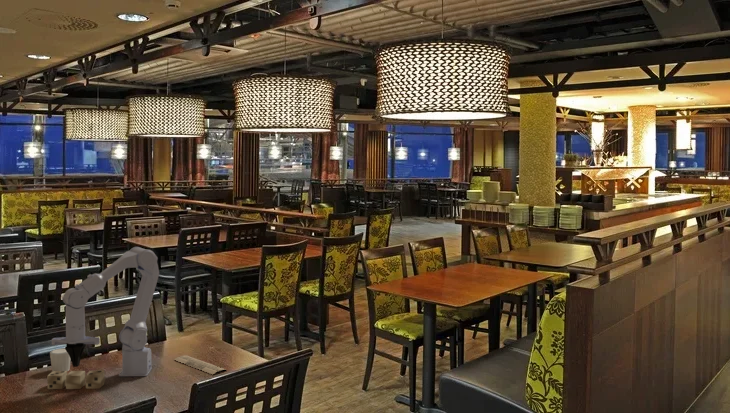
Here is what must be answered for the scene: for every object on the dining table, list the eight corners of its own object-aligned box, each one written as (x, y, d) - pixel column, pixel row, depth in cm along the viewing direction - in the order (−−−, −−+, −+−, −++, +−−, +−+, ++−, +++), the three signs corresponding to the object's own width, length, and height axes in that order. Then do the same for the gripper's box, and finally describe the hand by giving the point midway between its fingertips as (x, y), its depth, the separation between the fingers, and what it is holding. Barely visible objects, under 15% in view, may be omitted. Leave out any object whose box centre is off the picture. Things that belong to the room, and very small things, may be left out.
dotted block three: (67, 384, 206) (67, 370, 206) (61, 389, 202) (61, 375, 201) (53, 384, 206) (52, 370, 206) (47, 389, 201) (47, 375, 201)
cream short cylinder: (63, 374, 215) (62, 354, 215) (45, 372, 217) (45, 352, 216) (75, 367, 222) (75, 348, 221) (59, 366, 223) (58, 347, 223)
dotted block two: (104, 383, 207) (104, 370, 207) (100, 388, 203) (99, 374, 203) (90, 383, 207) (90, 370, 207) (85, 388, 202) (85, 375, 202)
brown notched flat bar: (227, 372, 222) (227, 368, 221) (210, 378, 216) (210, 373, 216) (187, 358, 236) (187, 354, 236) (171, 363, 231) (171, 358, 231)
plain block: (85, 384, 207) (85, 370, 206) (80, 389, 202) (80, 375, 202) (71, 384, 206) (71, 371, 206) (66, 389, 202) (65, 375, 201)
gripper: (47, 328, 198) (48, 370, 199) (94, 328, 200) (94, 369, 201) (56, 322, 205) (57, 363, 206) (101, 322, 207) (102, 362, 208)
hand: (76, 365), depth 204 cm, fingers closed
